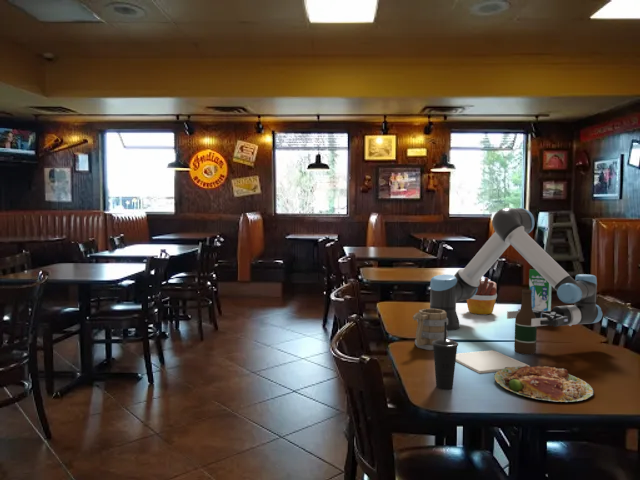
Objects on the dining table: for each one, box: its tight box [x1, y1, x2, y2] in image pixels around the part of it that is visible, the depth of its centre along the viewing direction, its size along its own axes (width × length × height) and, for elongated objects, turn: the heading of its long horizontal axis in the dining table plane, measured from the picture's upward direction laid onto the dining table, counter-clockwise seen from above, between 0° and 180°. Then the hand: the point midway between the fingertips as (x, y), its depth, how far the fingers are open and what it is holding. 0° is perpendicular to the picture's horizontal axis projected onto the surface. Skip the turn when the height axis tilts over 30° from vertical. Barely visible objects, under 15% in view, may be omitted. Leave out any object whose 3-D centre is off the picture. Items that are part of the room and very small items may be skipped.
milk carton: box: [528, 268, 553, 318], centre depth 252 cm, size 9×9×25 cm
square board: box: [455, 349, 531, 374], centre depth 179 cm, size 20×20×1 cm
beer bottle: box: [513, 288, 538, 356], centre depth 192 cm, size 8×8×24 cm
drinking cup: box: [432, 322, 459, 391], centre depth 153 cm, size 8×8×20 cm
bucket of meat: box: [466, 277, 498, 316], centre depth 265 cm, size 20×16×20 cm
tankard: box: [412, 308, 449, 351], centre depth 197 cm, size 20×13×15 cm, turn 134°
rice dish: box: [494, 364, 595, 403], centre depth 155 cm, size 28×28×5 cm
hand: (519, 318), depth 191 cm, fingers open, 13 cm apart
